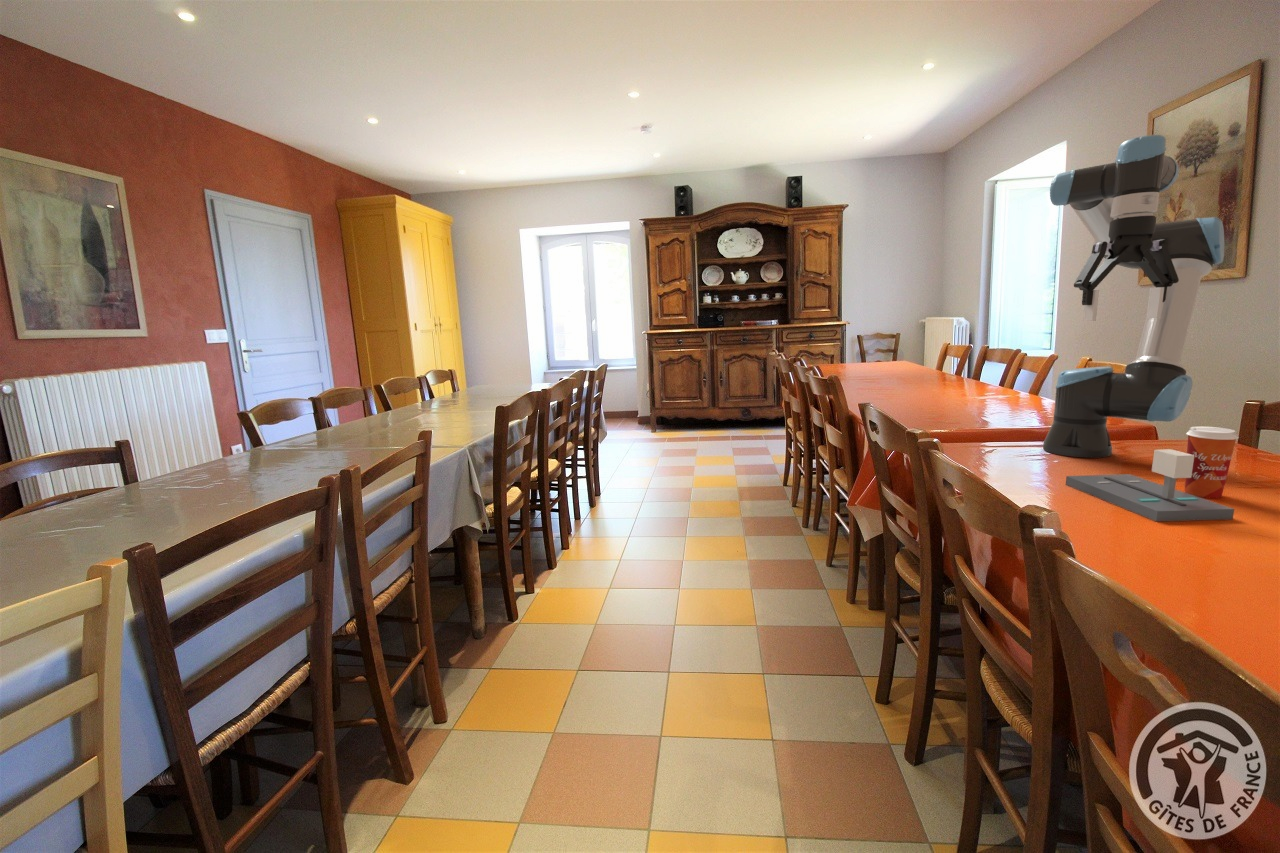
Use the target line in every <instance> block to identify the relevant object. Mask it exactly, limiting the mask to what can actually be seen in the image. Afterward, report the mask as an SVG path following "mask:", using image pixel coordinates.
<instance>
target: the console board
mask: <svg viewBox="0 0 1280 853" xmlns="http://www.w3.org/2000/svg"><path fill="white" fill-rule="evenodd" d="M1065 485H1066V486H1068V487H1071V488H1072V489H1076V490H1077V491H1081V492H1083V493H1086V494H1087V495H1090V496H1092V497H1094V498H1095V497H1096V498H1098V499H1100V500H1102V501H1105V502H1107V503H1110V504H1112V505H1115V506H1117V507H1120V508H1121V509H1125V510H1128V511H1130V512H1132V513H1135V514H1137V515H1139V516H1141V517H1145V518H1147V519H1149V520H1152V521H1154V522H1180V521H1181V522H1183V521H1185V522H1187V521H1213V520H1214V521H1215V520H1216V521H1217V520H1220V521H1221V520H1233V519H1234V515H1235V514H1234V513H1235V508H1233V507H1229V506H1226V505H1223V504H1221V503H1218V502H1214V501H1212V500H1208V499H1207V498H1202V497H1197V496H1194V495H1191V494H1188V493H1185V491H1181V490H1178V489H1176V488H1175V492H1174V498H1170V499H1167V498H1164V497H1162V493H1163V485H1164V484H1159V483H1157V482H1155V481H1151V480H1149V479H1147V478H1146V479H1145V478H1142V477H1139V476H1136V475H1133V474H1130V473H1126V474H1124V473H1123V474H1122V473H1121V474H1117V473H1116V474H1095V475H1094V474H1093V475H1091V474H1090V475H1066V478H1065Z"/></svg>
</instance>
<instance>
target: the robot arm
mask: <svg viewBox="0 0 1280 853" xmlns="http://www.w3.org/2000/svg"><path fill="white" fill-rule="evenodd" d="M1166 140H1167V139H1166V137H1165V136H1164V135H1161V134H1152V135H1144V136H1138V137H1134V138H1130V139H1128V140H1125V141H1123V142H1122V143H1121V144H1120V145H1119V146H1118V149H1117V150H1118V151H1117V153H1116V154H1117V156H1116V159H1115V162H1110V163H1105V164H1099V165H1095V166H1088V167H1084V168H1077V169H1072V170H1071V169H1070V170H1068V171H1064V172H1060V173H1057V174H1056V175H1054V177H1053V178H1052V181H1051V183H1050V188H1049V199H1050V201H1051V203H1052V205H1053V206H1057V207H1058V206H1064V207H1066V206H1068V205H1070V207H1071V208H1072V210H1073V212H1075V214H1076V215H1077V217H1078V218H1079V219H1080V221H1081V223H1082V224H1083V225H1084V226H1085V228H1086V229H1087V231H1088V232H1089V234H1090V235H1091V237H1092V239H1093V245H1092V249H1091V253H1090V255H1089V257H1088V259H1087V260H1086V262H1085V264H1084V266H1083V267H1082V269H1081V271H1080V273H1079V274H1078V276H1077V277H1076V280H1075V281H1074V283H1073V287H1074V288H1078V289H1079V290H1080V291H1082V295H1081V296H1082V299H1081V304H1082V306H1084V308H1083V320H1082V321H1083V322H1096V321H1097V314H1098V313H1097V312H1098V305H1099V304H1098V303H1099V293H1100V290H1099V289H1096V288H1097V287H1098V286H1099V285H1100V284H1101V283H1102V281H1103V280H1104V279H1105V278H1106V277H1107V276H1108V275H1109V274H1110V273H1111V272H1112V271H1113V270H1114V268H1115V267H1116V266H1120V267H1123V268H1127V269H1136V270H1142V271H1143V273H1144V274H1145V275H1146V277H1147V278H1148V279H1149V281H1150V282H1151V283H1152V285H1153V287H1150V288H1149V292H1148V293H1149V294H1148V301H1147V302H1148V303H1147V310H1146V317H1145V321H1144V325H1143V328H1142V333H1141V336H1140V340H1139V345H1138V348H1137V352H1136V356H1135V359H1134V360H1133V361H1131V362H1128V363H1127V364H1126V366H1125V369H1124V372H1114V368H1113V367H1112V366H1096V367H1095V366H1094V367H1092V366H1091V367H1080V368H1072V369H1067V370H1066V369H1065V370H1063V371H1061V372H1060V373H1059V374H1058V376H1057V382H1056V386H1055V397H1054V398H1055V399H1054V400H1055V402H1054V412H1053V421H1052V424H1051V427H1049V429H1048V432H1047V434H1046V437H1045V438H1044V440H1043V443H1042V444H1043V446H1042V450H1044V451H1045V452H1048V453H1051V454H1055V455H1059V456H1060V455H1061V456H1066V457H1074V458H1075V457H1076V458H1086V459H1087V458H1090V459H1091V458H1092V459H1094V458H1096V459H1097V458H1099V459H1100V458H1105V457H1110V456H1112V454H1113V453H1112V452H1113V445H1112V442H1111V438H1110V434H1109V431H1108V426H1107V421H1108V418H1116V419H1129V420H1137V421H1139V420H1140V421H1141V420H1142V421H1147V422H1173V421H1175V420H1177V419H1178V418H1179V417H1180V416H1181V415H1182V414H1183V412H1184V410H1185V409H1186V406H1187V405H1188V402H1189V400H1190V397H1191V393H1192V392H1191V391H1192V388H1193V378H1192V377H1191V376H1190V375H1187V369H1186V368H1185V367H1184V366H1183V365H1181V361H1182V357H1183V353H1184V348H1185V344H1186V342H1187V336H1188V333H1189V332H1188V331H1189V329H1190V328H1189V327H1190V324H1191V321H1192V316H1193V312H1194V307H1195V304H1196V300H1197V296H1198V292H1199V287H1200V284H1201V280H1202V278H1204V277H1205V276H1208V275H1209V274H1210V273H1211V272H1212V270H1213V265H1219V264H1222V263H1223V261H1224V258H1225V230H1224V224H1223V221H1222V219H1221V218H1219V217H1215V216H1212V217H1211V216H1210V217H1201V218H1200V217H1196V218H1193V219H1185V220H1177V221H1176V220H1175V221H1167V222H1158V223H1157V216H1156V215H1154V214H1156V213H1157V212H1158V208H1159V201H1160V193H1161V192H1164V191H1166V190H1168V189H1169V188H1170V187H1172V185H1173V184H1174V183H1175V182H1176V180H1177V179H1178V177H1179V174H1180V170H1179V169H1180V168H1179V164H1178V163H1177V162H1176V160H1175V159H1174V158H1173V157H1171V156H1168V155H1166V154H1165V153H1166V151H1167V147H1166V142H1167V141H1166ZM1101 262H1102V263H1101ZM1100 264H1101V265H1100Z"/></svg>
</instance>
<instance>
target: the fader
mask: <svg viewBox="0 0 1280 853" xmlns="http://www.w3.org/2000/svg"><path fill="white" fill-rule="evenodd" d="M1153 452H1154V453H1153V458H1152V466H1151V472H1152V473H1157V474H1159V475H1163V476H1164V477H1163V478H1164V480H1163V484H1162V485H1163V493H1162V497H1164V498H1167V499H1170V498H1174V492H1175V489H1176V483H1177V479H1185V478H1191V476H1192V469H1193V462H1194V455H1191V454H1187V452H1183V451H1178V450H1175V449H1172V448H1168V449H1166V448H1165V449H1154V450H1153Z"/></svg>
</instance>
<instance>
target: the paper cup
mask: <svg viewBox="0 0 1280 853" xmlns="http://www.w3.org/2000/svg"><path fill="white" fill-rule="evenodd" d="M1185 435H1187V445H1186V446H1187V448H1186V453H1187V454H1191V455H1194V462H1193V469H1192V476H1191V478H1184V479H1185V480H1184V481H1185V482H1184V492H1185V493H1188V494H1191V495H1194V496H1197V497H1200V498H1203V499H1221V498H1222V496H1223V493H1224V489H1225V485H1226V482H1227V477H1228V473H1229V470H1230V465H1231V461H1232V457H1233V452H1234V449H1235V446H1236V440H1238V439H1239V438H1240V437H1239V436H1238V432H1236V430H1234V429H1230V428H1227V427H1226V428H1225V427H1218V426H1216V427H1215V426H1191V427H1189V430H1188V431H1187V432H1186V433H1185Z"/></svg>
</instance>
